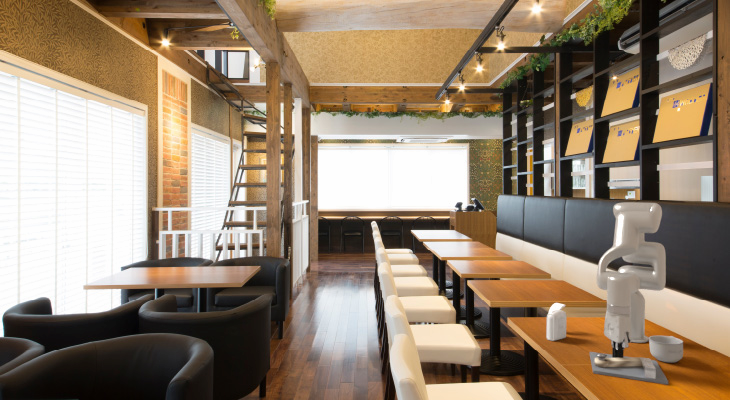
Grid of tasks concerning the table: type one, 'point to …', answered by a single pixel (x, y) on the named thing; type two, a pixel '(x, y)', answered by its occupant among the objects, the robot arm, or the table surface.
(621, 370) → the slate board
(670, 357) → the teacup
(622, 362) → the link
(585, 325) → the table surface
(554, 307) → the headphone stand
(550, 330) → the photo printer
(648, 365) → the keeper
